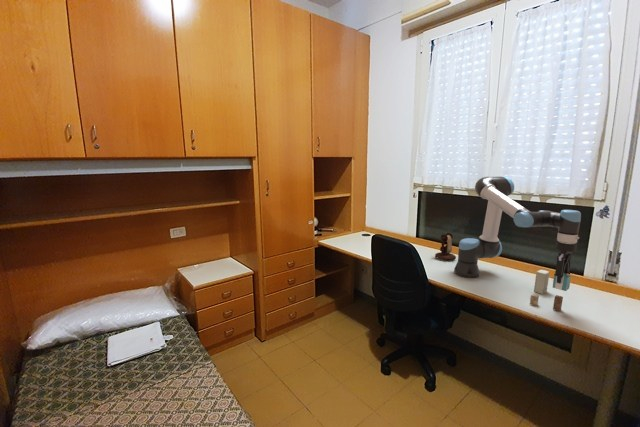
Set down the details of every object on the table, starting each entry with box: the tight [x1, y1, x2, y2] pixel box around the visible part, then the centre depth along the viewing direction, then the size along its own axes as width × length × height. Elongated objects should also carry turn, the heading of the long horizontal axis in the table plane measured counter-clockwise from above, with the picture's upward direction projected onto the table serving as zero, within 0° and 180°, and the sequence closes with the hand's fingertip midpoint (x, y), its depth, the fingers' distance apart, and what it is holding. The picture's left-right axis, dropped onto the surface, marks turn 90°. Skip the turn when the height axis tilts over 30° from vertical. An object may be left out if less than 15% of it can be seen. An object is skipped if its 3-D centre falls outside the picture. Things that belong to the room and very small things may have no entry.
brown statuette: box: [434, 232, 457, 262], centre depth 223 cm, size 15×15×20 cm
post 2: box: [552, 294, 564, 312], centre depth 146 cm, size 3×3×7 cm
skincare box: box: [533, 269, 550, 295], centre depth 166 cm, size 6×4×12 cm
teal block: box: [552, 274, 572, 292], centre depth 144 cm, size 5×5×7 cm
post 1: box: [529, 293, 539, 307], centre depth 152 cm, size 3×3×5 cm
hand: (560, 287), depth 144 cm, fingers closed on teal block, 5 cm apart
